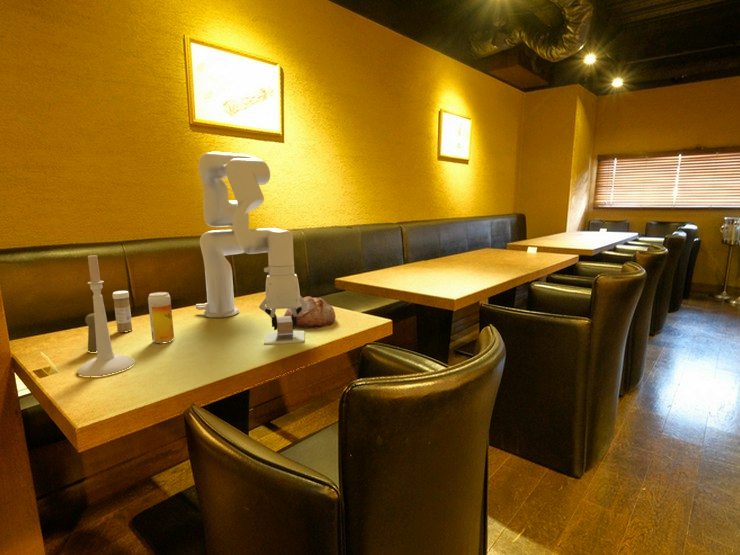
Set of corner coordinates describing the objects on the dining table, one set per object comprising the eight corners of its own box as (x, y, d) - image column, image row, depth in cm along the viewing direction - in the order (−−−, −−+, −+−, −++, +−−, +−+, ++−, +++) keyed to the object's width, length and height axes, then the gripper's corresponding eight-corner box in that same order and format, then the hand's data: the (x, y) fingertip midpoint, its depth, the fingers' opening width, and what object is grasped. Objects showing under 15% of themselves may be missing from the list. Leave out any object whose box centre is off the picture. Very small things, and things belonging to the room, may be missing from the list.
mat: (263, 344, 128) (263, 342, 128) (266, 334, 138) (266, 332, 137) (304, 342, 130) (304, 340, 129) (304, 332, 139) (304, 330, 139)
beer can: (177, 340, 132) (173, 293, 129) (157, 345, 128) (152, 297, 125) (169, 336, 136) (165, 290, 133) (149, 341, 132) (144, 294, 129)
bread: (325, 334, 141) (323, 305, 138) (273, 328, 147) (271, 300, 145) (345, 318, 156) (343, 291, 153) (297, 313, 162) (295, 288, 160)
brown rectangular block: (276, 327, 136) (276, 317, 135) (291, 326, 137) (290, 315, 136) (277, 334, 129) (277, 323, 128) (293, 332, 130) (292, 321, 130)
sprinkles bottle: (126, 328, 145) (121, 289, 143) (136, 330, 143) (131, 290, 141) (113, 332, 141) (108, 292, 138) (123, 334, 139) (119, 293, 137)
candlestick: (71, 381, 103) (53, 258, 97) (83, 363, 115) (67, 252, 109) (132, 372, 108) (118, 255, 102) (136, 356, 120) (124, 249, 114)
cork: (86, 354, 121) (81, 317, 119) (89, 348, 126) (84, 312, 124) (111, 351, 123) (106, 314, 121) (112, 345, 129) (108, 309, 127)
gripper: (251, 273, 125) (255, 333, 128) (310, 271, 127) (312, 330, 130) (254, 269, 132) (257, 326, 135) (309, 267, 134) (311, 323, 138)
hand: (284, 327), depth 133 cm, fingers closed on brown rectangular block, 4 cm apart
